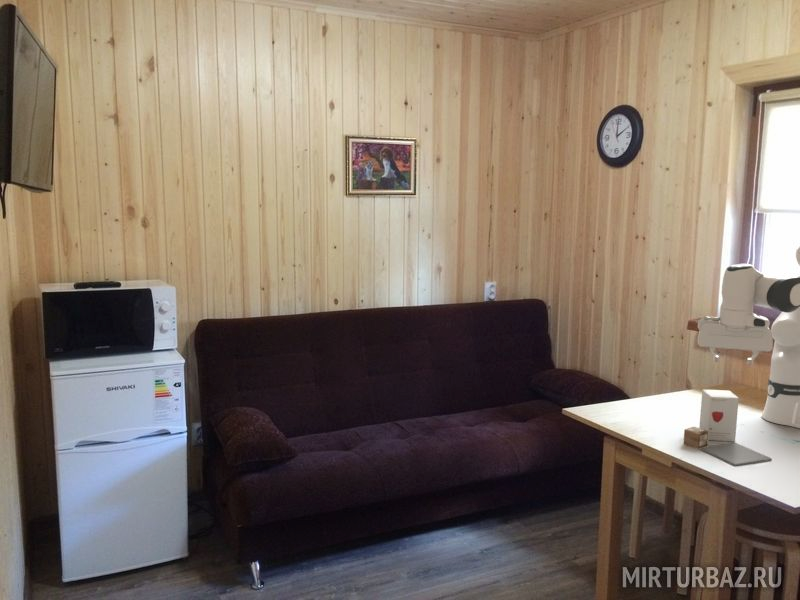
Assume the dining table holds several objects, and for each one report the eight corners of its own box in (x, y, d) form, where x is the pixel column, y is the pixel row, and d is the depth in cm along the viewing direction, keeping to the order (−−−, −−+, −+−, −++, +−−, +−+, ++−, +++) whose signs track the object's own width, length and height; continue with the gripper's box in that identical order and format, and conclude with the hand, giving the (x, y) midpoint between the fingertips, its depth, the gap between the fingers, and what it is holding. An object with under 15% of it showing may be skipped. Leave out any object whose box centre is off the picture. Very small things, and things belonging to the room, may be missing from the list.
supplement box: (706, 440, 215) (709, 396, 213) (698, 431, 224) (701, 388, 222) (736, 442, 214) (739, 397, 212) (726, 432, 223) (729, 389, 221)
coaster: (734, 444, 212) (735, 442, 212) (771, 460, 199) (771, 458, 199) (699, 449, 208) (700, 447, 207) (734, 466, 194) (735, 464, 194)
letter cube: (692, 441, 215) (693, 426, 214) (707, 446, 211) (708, 430, 210) (683, 444, 212) (684, 429, 212) (698, 449, 208) (699, 433, 207)
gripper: (698, 317, 198) (695, 362, 200) (775, 322, 190) (771, 368, 192) (697, 314, 204) (694, 357, 206) (772, 318, 196) (768, 363, 198)
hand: (732, 363), depth 199 cm, fingers open, 8 cm apart
